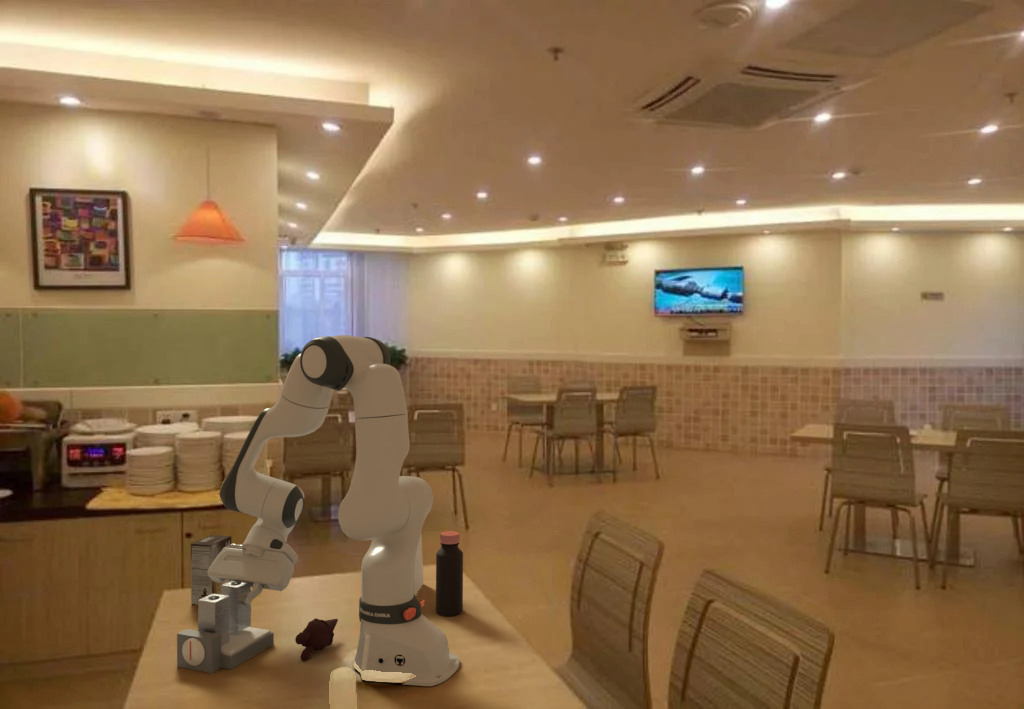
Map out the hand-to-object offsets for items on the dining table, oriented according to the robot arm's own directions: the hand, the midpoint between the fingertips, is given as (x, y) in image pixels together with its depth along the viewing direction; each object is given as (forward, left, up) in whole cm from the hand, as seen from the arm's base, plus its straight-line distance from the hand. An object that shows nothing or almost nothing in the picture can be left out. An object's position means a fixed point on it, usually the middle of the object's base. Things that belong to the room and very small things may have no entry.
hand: (234, 602), depth 168 cm
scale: (0, +4, -10) cm, 11 cm away
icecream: (-18, -6, -10) cm, 22 cm away
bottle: (-36, -37, -10) cm, 52 cm away
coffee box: (+26, -23, -10) cm, 36 cm away
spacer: (0, -1, -6) cm, 6 cm away
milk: (-16, -47, -10) cm, 50 cm away
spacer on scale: (0, +6, -7) cm, 9 cm away
